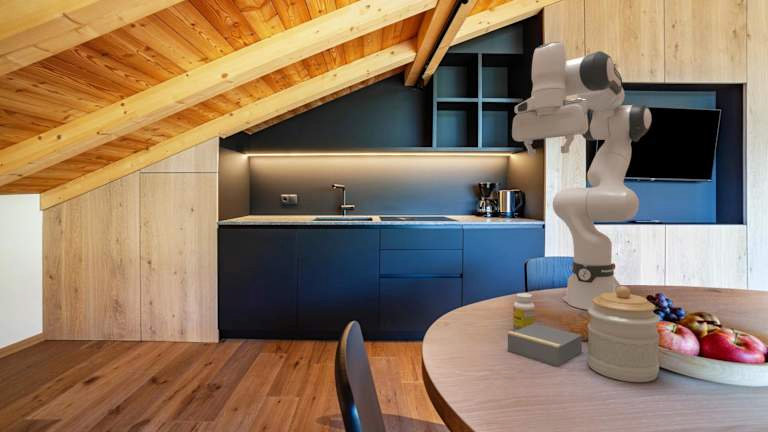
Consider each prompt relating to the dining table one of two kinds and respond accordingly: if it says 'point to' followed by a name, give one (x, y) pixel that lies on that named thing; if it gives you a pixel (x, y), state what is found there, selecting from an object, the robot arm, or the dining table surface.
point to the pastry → (581, 329)
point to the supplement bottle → (523, 311)
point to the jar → (623, 337)
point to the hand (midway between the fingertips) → (547, 154)
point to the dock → (545, 343)
